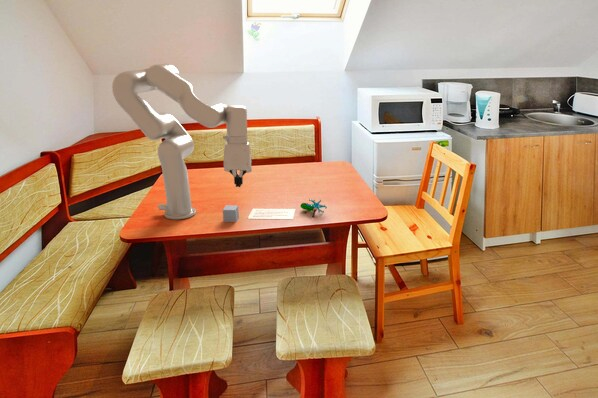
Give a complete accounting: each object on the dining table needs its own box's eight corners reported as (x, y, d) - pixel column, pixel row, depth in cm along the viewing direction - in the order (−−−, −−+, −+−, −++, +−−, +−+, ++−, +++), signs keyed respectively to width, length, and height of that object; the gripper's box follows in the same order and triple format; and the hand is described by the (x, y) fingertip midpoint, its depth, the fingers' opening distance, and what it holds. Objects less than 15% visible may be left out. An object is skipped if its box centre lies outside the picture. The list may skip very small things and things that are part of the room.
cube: (223, 221, 166) (222, 209, 164) (226, 216, 170) (225, 205, 169) (236, 221, 165) (235, 210, 164) (239, 217, 170) (238, 205, 168)
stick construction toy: (330, 207, 171) (321, 196, 167) (326, 221, 168) (316, 210, 163) (306, 210, 179) (297, 199, 174) (301, 223, 175) (291, 212, 170)
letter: (247, 218, 168) (247, 218, 168) (252, 208, 178) (252, 208, 178) (292, 219, 166) (292, 219, 166) (295, 209, 176) (295, 209, 176)
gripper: (215, 141, 155) (217, 188, 161) (255, 142, 154) (256, 189, 160) (219, 136, 162) (222, 182, 168) (258, 138, 161) (259, 183, 167)
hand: (238, 185), depth 164 cm, fingers closed
